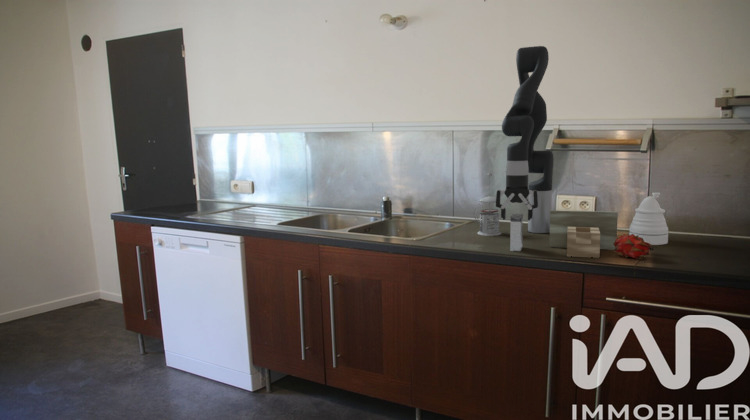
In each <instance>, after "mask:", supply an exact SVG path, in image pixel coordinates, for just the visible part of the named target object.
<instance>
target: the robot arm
mask: <svg viewBox="0 0 750 420" xmlns="http://www.w3.org/2000/svg"><path fill="white" fill-rule="evenodd" d="M515 62H516V70H517V76H518V82H519V83H518V84H519V87H518V88H517V90H516V92H515V94H514V98H513V102H512V105H511V107H510V109H509V110H508V112H507V113H506V115H505V116H504V118H503V120H502V123H501V131H502V133H503V134H504V135H505V136H507V137H521V138H520V140H519V141H517V142H514V143H510V144H508V145H507V149H506V167H505V169H506V170H505V190H501V189H497V191H496V195H495V196H496V197H495V198H496V202H495V208H499V209H500V218H501V219H502V220H506V218H507V215H506V214H507V213H506V212H507V210H506V207H507V205H508V204H509V203H512V204H513V203H514V204H515V203H518V204H522V203H524V205H525V206H526V207H527V221H528V222H527V232H529V233H533V234H547V233H549V234H550V210H552V208H553V205H552V203H553V173H554V172H553V171H554V153H553V152H552V150H535V148H534V146H535V143H536V141H537V139H538V137H539V135H540V134H541V132H542V130H543V129H544V127H545V125H546V123H547V122H548V120H547V119H548V113H547V104H546V101H545V99H544V98H543V96H542V95H541V93H540V92H539V91H538V89H539V88H540V85H541V83H542V81H543V79H544V75H545V73H546V71H547V69H548V65H549V51H548V48H547V47H546V46H544V45H538V46H526V47H525V46H524V47H520V48H518V50H517V52H516V57H515ZM529 73H531V74H529ZM529 174H543V176H542V177H541V178H540V179H537V180H534V181H532V182H530V183H529ZM503 195H505V197H506V199H505V201H504V202H503V203H501V197H503ZM527 198H528V199H527Z"/></svg>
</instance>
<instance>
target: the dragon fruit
mask: <svg viewBox="0 0 750 420" xmlns="http://www.w3.org/2000/svg"><path fill="white" fill-rule="evenodd" d="M613 244H614V246H615V250H613V251H614V252H616V253H619V254H620V253H621V254H622V257H623V258H625V259H627V258H628V257H629V258H633V259H636V260H643V259H645V258H644V257H643V256H649V255H650V252H651V251H654V247H653V245H651V244H650V243H647V242H644V240H643V238H641V237H639V236H638V235H637V236H635V235H634V234H632V235H629V233H623V234H622V235H618V236H617V239H615V242H614V243H613ZM641 256H642V257H641Z"/></svg>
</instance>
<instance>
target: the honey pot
mask: <svg viewBox="0 0 750 420" xmlns="http://www.w3.org/2000/svg"><path fill="white" fill-rule="evenodd" d="M651 194H652V196H650V195H649V196H646V197H645V198H644V199H643V200H642V201H641V202H640V204H639V206H638V207H637V208H635V209H634V212H635V214H634V215H633V216H632V221H631V224H630V225H629V228H628V229H629V232H628V234H629V235H632V234H634V235H635V236H637V235H638V236H639V237H641V238H643V240H644V242H647V243H650V244H651V245H652V246H659V245H660V246H661V245H667V244H668V243H669V227H668V225H667V222H666V217H665V215H664V213H665V212H666V209H664V208H661V205H660V203H659V202H658V200H657V199H658V198H660V195H661V192H652V193H651Z"/></svg>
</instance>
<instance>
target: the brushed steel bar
mask: <svg viewBox="0 0 750 420" xmlns="http://www.w3.org/2000/svg"><path fill="white" fill-rule="evenodd" d="M523 216H524V214H523V213H522V214H521V213H512V214H511V216H510V230H509V231H510V233H509V235H510V236H509V237H510V238H509V239H510V242H509V243H510V244H509V251H510V252H521V251H522V249H523V224H524V223H523V222H524V221H523V220H524V219H523Z"/></svg>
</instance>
